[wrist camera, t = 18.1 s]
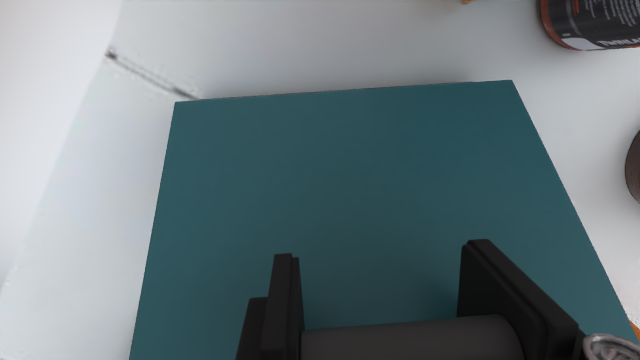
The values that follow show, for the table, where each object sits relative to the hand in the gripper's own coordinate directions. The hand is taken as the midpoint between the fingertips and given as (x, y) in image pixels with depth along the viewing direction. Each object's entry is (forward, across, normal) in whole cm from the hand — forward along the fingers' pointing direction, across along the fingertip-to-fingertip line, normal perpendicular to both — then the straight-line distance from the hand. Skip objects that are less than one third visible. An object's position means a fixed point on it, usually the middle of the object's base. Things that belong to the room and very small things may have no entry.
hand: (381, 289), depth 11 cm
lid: (+3, 0, 0) cm, 3 cm away
